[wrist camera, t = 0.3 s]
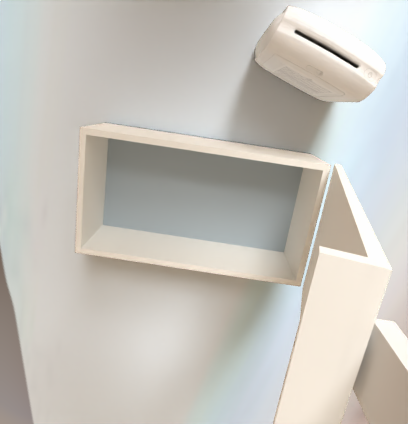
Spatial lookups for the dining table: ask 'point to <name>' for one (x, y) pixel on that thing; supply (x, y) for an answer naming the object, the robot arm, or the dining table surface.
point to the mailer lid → (334, 311)
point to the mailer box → (197, 202)
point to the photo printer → (318, 57)
